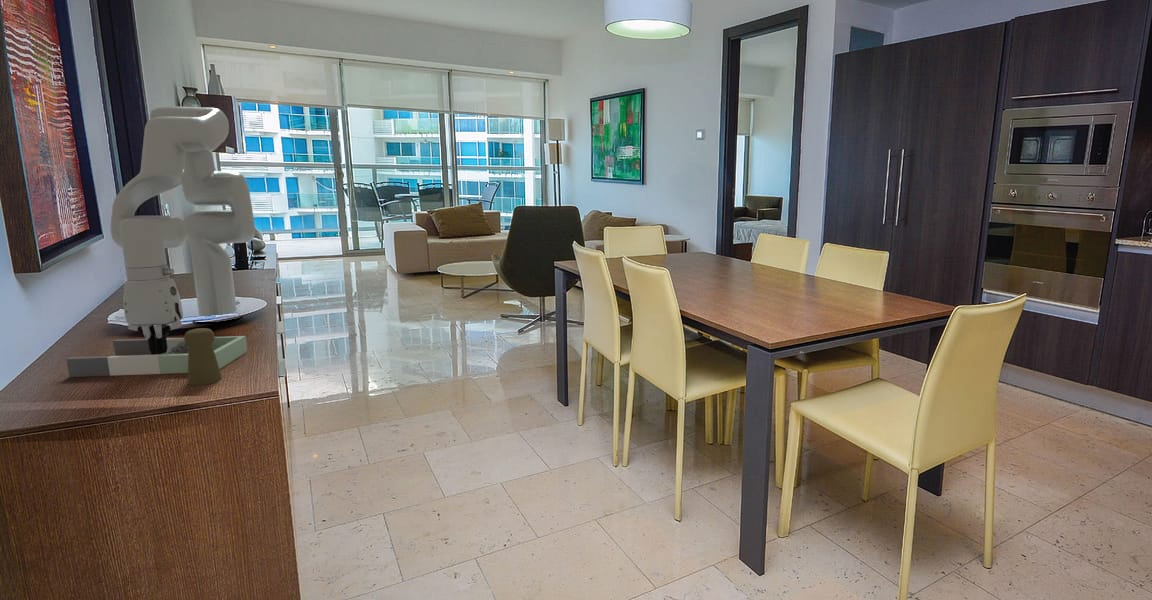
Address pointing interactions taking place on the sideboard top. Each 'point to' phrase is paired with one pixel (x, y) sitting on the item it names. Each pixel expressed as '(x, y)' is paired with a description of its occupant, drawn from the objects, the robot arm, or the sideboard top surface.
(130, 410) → the sideboard top surface
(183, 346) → the egg carton
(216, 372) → the cork
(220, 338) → the frame
